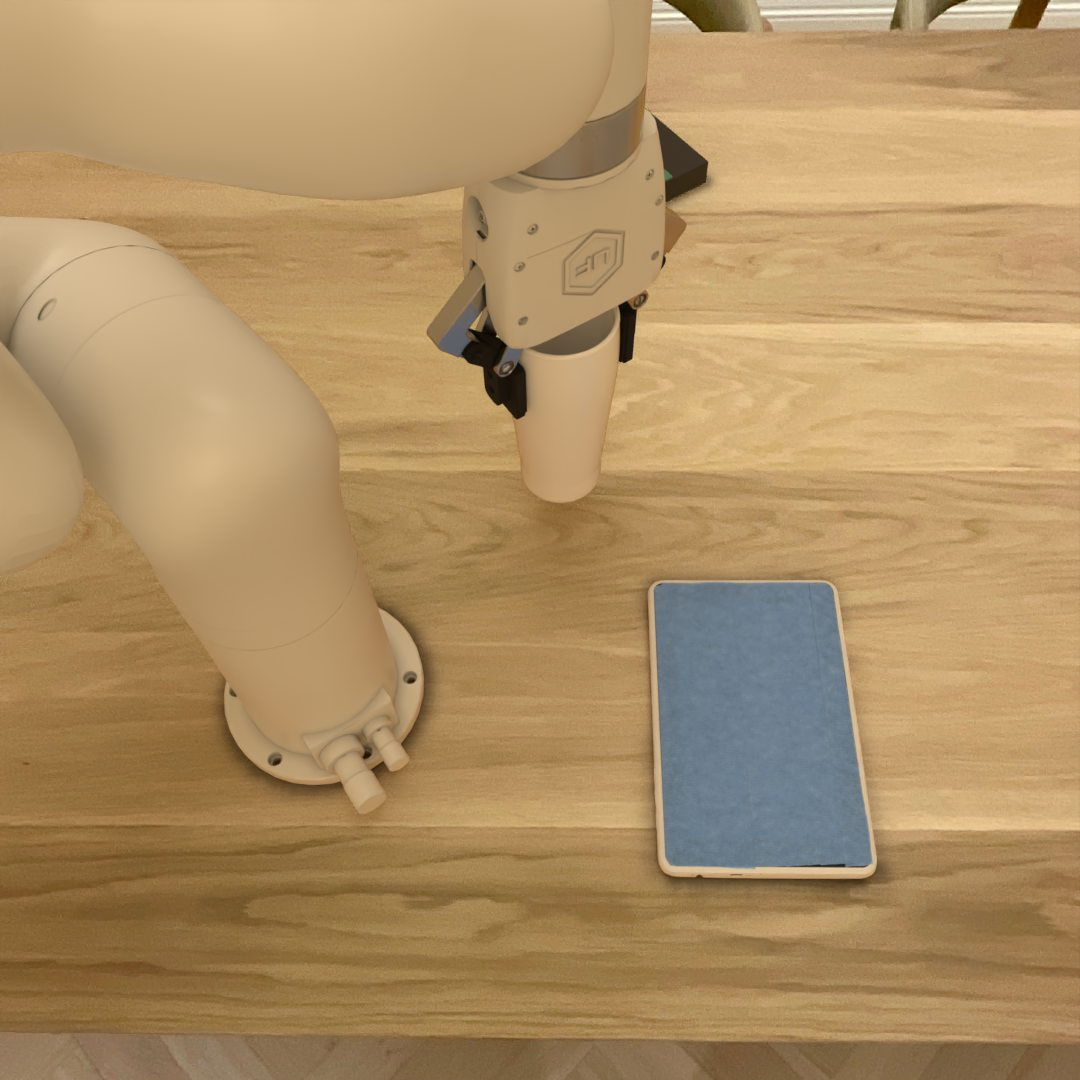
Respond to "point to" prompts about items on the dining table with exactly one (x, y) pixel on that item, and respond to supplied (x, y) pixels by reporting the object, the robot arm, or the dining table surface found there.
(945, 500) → the dining table surface
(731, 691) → the tablet
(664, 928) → the dining table surface
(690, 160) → the kitchen scale
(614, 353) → the drinking glass
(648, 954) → the dining table surface
